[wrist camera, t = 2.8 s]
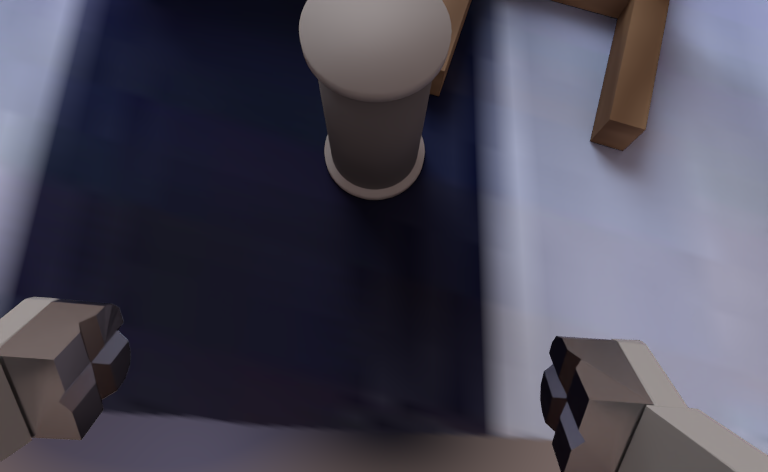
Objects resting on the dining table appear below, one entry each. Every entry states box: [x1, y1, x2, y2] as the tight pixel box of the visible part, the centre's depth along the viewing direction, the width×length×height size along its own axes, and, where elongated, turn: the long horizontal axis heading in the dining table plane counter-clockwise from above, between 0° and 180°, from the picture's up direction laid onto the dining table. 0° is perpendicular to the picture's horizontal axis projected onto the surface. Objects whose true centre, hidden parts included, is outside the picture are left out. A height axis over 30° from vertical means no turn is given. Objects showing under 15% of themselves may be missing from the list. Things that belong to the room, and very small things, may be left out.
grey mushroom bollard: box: [299, 0, 452, 200], centre depth 23 cm, size 6×6×11 cm
